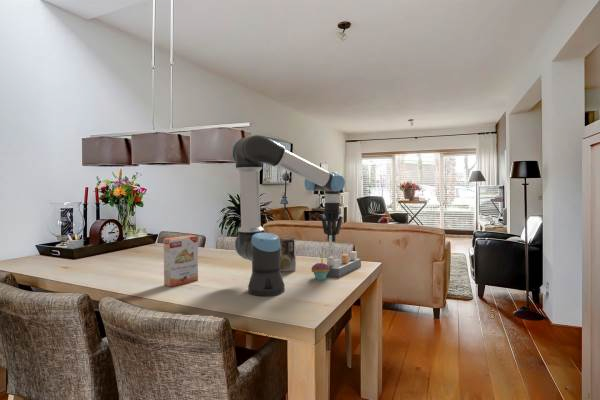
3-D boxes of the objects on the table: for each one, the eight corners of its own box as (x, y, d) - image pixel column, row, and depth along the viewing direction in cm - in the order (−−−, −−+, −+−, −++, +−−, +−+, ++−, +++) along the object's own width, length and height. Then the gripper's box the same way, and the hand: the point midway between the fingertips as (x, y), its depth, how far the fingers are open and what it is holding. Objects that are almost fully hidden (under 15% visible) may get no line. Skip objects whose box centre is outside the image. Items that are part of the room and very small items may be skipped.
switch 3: (354, 260, 182) (354, 252, 182) (350, 259, 183) (350, 252, 183) (356, 259, 185) (356, 251, 184) (352, 258, 186) (352, 251, 186)
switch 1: (331, 266, 169) (331, 258, 169) (327, 265, 171) (327, 257, 170) (334, 264, 172) (334, 256, 171) (330, 264, 173) (329, 256, 173)
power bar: (339, 277, 164) (339, 268, 164) (322, 274, 169) (322, 266, 169) (361, 266, 186) (361, 258, 186) (345, 264, 191) (345, 256, 191)
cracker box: (170, 287, 150) (169, 239, 149) (163, 285, 154) (162, 238, 153) (199, 280, 161) (198, 235, 160) (191, 278, 165) (190, 234, 164)
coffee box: (296, 268, 182) (295, 237, 182) (294, 271, 176) (294, 239, 175) (278, 268, 183) (278, 237, 183) (276, 271, 177) (276, 239, 176)
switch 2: (346, 263, 175) (346, 255, 175) (341, 262, 176) (341, 254, 176) (348, 262, 177) (348, 254, 177) (344, 261, 179) (344, 253, 178)
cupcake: (317, 275, 169) (316, 250, 168) (332, 277, 164) (332, 252, 164) (308, 279, 161) (308, 253, 161) (324, 282, 157) (324, 255, 156)
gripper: (346, 202, 179) (345, 248, 180) (324, 201, 186) (323, 245, 187) (340, 202, 173) (339, 250, 174) (317, 202, 180) (316, 247, 181)
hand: (331, 247), depth 180 cm, fingers closed
